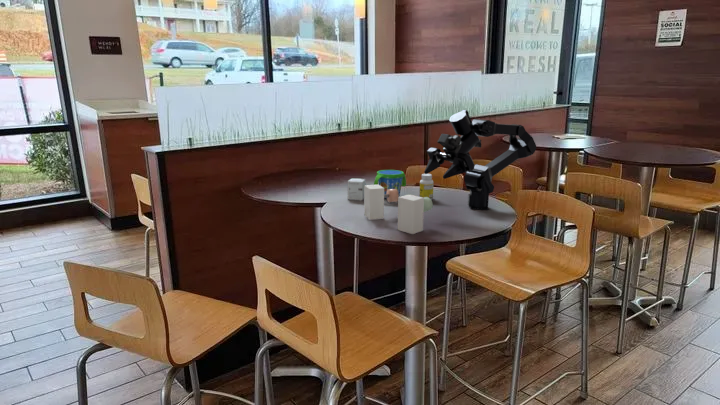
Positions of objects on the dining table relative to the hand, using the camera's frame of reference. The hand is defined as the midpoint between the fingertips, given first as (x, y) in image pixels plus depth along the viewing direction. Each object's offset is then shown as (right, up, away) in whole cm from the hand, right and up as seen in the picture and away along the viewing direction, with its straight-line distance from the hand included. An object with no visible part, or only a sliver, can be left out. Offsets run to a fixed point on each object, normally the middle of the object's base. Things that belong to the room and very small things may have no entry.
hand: (434, 175), depth 162 cm
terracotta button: (-15, -9, +4) cm, 18 cm away
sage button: (-6, -12, -8) cm, 16 cm away
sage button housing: (-9, -18, -10) cm, 22 cm away
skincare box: (-26, -8, +29) cm, 40 cm away
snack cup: (-13, -7, +31) cm, 34 cm away
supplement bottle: (+1, -8, +28) cm, 29 cm away
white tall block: (-20, -14, +4) cm, 25 cm away
